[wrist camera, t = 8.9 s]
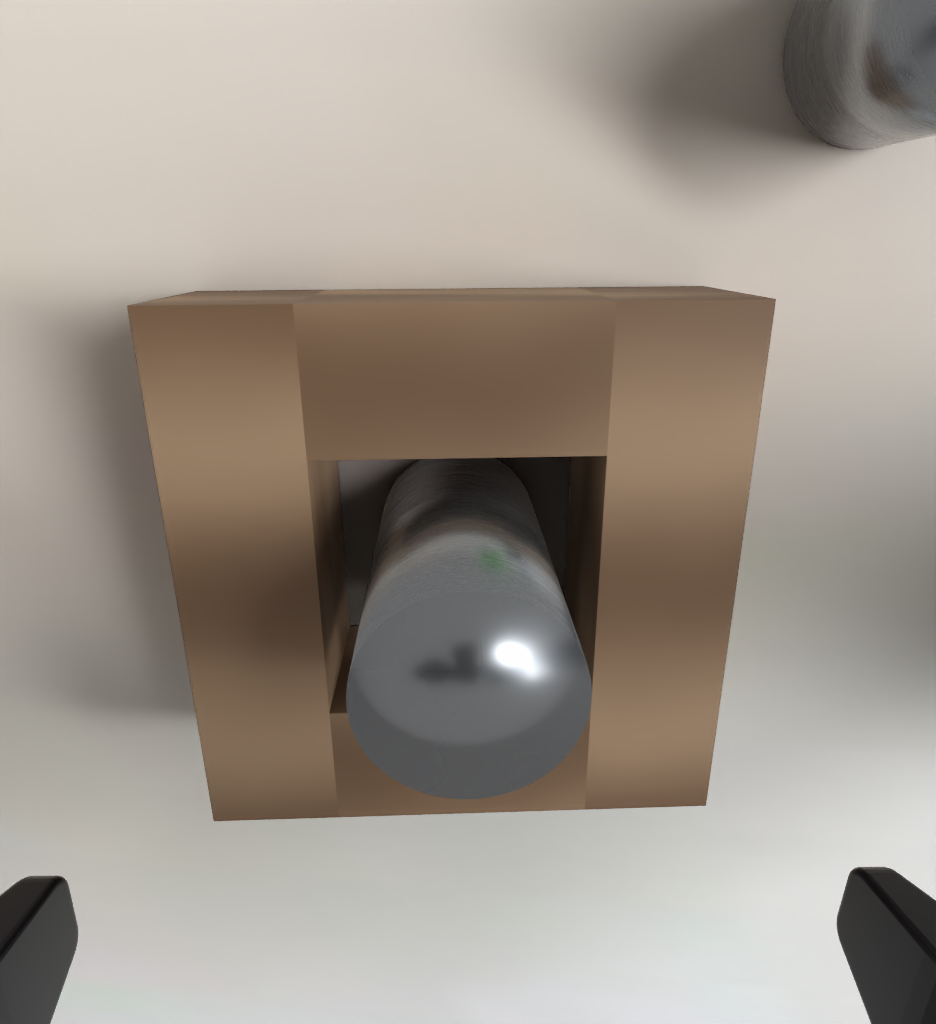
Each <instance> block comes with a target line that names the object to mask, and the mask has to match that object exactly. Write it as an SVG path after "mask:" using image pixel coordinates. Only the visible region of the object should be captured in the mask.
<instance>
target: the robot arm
mask: <svg viewBox="0 0 936 1024" xmlns="http://www.w3.org/2000/svg"><path fill="white" fill-rule="evenodd" d="M837 931H838V936H839V939H840V942H841V945H842V948H843V951H844V953H845V956H846V958H847V961H848V964H849V966H850V969H851V972H852V974H853V977H854V980H855V982H856V985H857V987H858V990H859V993H860V995H861V998H862V1001H863V1003H864V1006H865V1009H866V1011H867V1014H868V1016H869V1019H870V1022H871V1024H936V900H934V899H933V898H932V897H930V896H929V895H927V894H926V893H925V892H923V891H922V890H921V889H919V888H918V887H916V886H915V885H914V884H912V883H911V882H910V881H908V880H907V879H906V878H904V877H903V876H901V875H900V874H899V873H897V872H896V871H894V870H892V869H890V868H886V867H857V868H854V869H853V870H852V871H851V872H850V874H849V876H848V880H847V883H846V887H845V891H844V894H843V898H842V901H841V905H840V908H839V912H838V916H837ZM77 941H78V926H77V921H76V917H75V912H74V908H73V903H72V899H71V894H70V890H69V886H68V883H67V881H66V880H65V879H64V878H63V877H61V876H29V877H26V878H24V879H22V880H20V881H18V882H17V883H15V884H14V885H13V886H12V887H10V888H9V889H8V890H7V891H5V892H4V893H3V894H1V895H0V1024H50V1023H51V1020H52V1017H53V1014H54V1011H55V1009H56V1006H57V1003H58V1000H59V997H60V994H61V991H62V988H63V986H64V983H65V980H66V977H67V974H68V971H69V968H70V965H71V963H72V960H73V957H74V954H75V951H76V946H77Z"/></svg>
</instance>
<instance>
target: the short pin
mask: <svg viewBox="0 0 936 1024" xmlns="http://www.w3.org/2000/svg"><path fill="white" fill-rule="evenodd" d="M783 70H784V80H785V85H786V90H787V94H788V97H789V99H790V102H791V105H792V107H793V109H794V111H795V113H796V115H797V116H798V117H799V119H800V120H801V122H802V123H803V124H804V125H805V126H806V128H807V129H808V130H809V131H810V132H811V133H813V134H814V135H815V136H817V137H818V138H819V139H821V140H823V141H825V142H827V143H829V144H831V145H834V146H837V147H840V148H846V149H857V150H863V149H871V148H876V147H881V146H886V145H890V144H895V143H900V142H904V141H909V140H914V139H919V138H923V137H928V136H933V135H936V0H799V2H798V4H797V6H796V8H795V10H794V13H793V15H792V18H791V21H790V23H789V27H788V31H787V35H786V39H785V46H784V56H783Z"/></svg>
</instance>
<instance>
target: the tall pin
mask: <svg viewBox="0 0 936 1024" xmlns="http://www.w3.org/2000/svg"><path fill="white" fill-rule="evenodd" d="M591 699H592V687H591V678H590V673H589V669H588V665H587V662H586V659H585V657H584V654H583V651H582V648H581V645H580V642H579V639H578V636H577V633H576V630H575V628H574V625H573V622H572V619H571V616H570V613H569V610H568V607H567V604H566V602H565V599H564V596H563V593H562V590H561V587H560V584H559V581H558V578H557V575H556V573H555V570H554V567H553V564H552V561H551V558H550V555H549V552H548V549H547V546H546V544H545V541H544V538H543V535H542V532H541V529H540V526H539V523H538V520H537V517H536V515H535V512H534V509H533V506H532V503H531V500H530V497H529V495H528V492H527V490H526V488H525V486H524V485H523V483H522V481H521V480H520V479H519V477H518V476H517V475H516V474H515V473H514V472H513V471H512V470H511V469H510V468H509V467H508V466H507V465H505V464H504V463H503V462H501V461H499V460H498V459H496V458H449V459H420V460H418V461H416V462H415V463H413V464H412V465H411V466H409V467H408V468H407V469H406V470H405V471H404V472H403V473H402V474H401V475H400V476H399V477H398V478H397V480H396V481H395V482H394V484H393V486H392V488H391V489H390V491H389V494H388V496H387V498H386V502H385V506H384V510H383V515H382V520H381V525H380V529H379V534H378V539H377V544H376V548H375V553H374V558H373V563H372V567H371V572H370V577H369V582H368V586H367V591H366V596H365V601H364V605H363V610H362V615H361V620H360V624H359V629H358V634H357V639H356V643H355V648H354V653H353V658H352V662H351V667H350V672H349V677H348V681H347V690H346V707H347V714H348V718H349V723H350V726H351V728H352V731H353V734H354V736H355V738H356V740H357V741H358V743H359V745H360V747H361V748H362V750H363V751H364V752H365V754H366V755H367V756H368V758H369V759H370V760H371V761H372V762H373V763H374V764H375V765H376V766H377V767H378V768H379V769H380V770H382V771H383V772H384V773H386V774H387V775H388V776H390V777H391V778H393V779H394V780H396V781H398V782H399V783H401V784H403V785H405V786H407V787H410V788H412V789H414V790H416V791H419V792H423V793H426V794H429V795H433V796H438V797H443V798H452V799H480V798H489V797H494V796H498V795H503V794H506V793H509V792H512V791H515V790H518V789H521V788H523V787H525V786H527V785H529V784H531V783H533V782H535V781H537V780H538V779H540V778H542V777H543V776H545V775H546V774H548V773H549V772H550V771H551V770H553V769H554V768H555V767H556V766H558V765H559V764H560V763H561V762H562V761H563V760H564V759H565V758H566V757H567V755H568V754H569V753H570V752H571V750H572V749H573V748H574V746H575V745H576V743H577V742H578V740H579V738H580V736H581V735H582V733H583V730H584V728H585V726H586V723H587V721H588V717H589V712H590V708H591Z"/></svg>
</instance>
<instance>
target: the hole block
mask: <svg viewBox="0 0 936 1024" xmlns="http://www.w3.org/2000/svg"><path fill="white" fill-rule="evenodd" d="M775 301H776V299H772V298H766V297H761V296H755V295H749V294H744V293H738V292H733V291H727V290H721V289H716V288H710V287H704V286H681V287H578V288H474V289H370V290H267V291H195V292H190V293H186V294H181V295H176V296H171V297H167V298H162V299H157V300H152V301H148V302H143V303H138V304H133V305H129V306H127V307H128V313H129V319H130V325H131V331H132V337H133V343H134V349H135V355H136V361H137V367H138V373H139V379H140V385H141V391H142V396H143V402H144V408H145V414H146V420H147V426H148V432H149V438H150V444H151V450H152V456H153V462H154V468H155V474H156V480H157V486H158V492H159V498H160V504H161V510H162V515H163V521H164V527H165V533H166V539H167V545H168V551H169V557H170V563H171V569H172V575H173V581H174V587H175V593H176V599H177V605H178V611H179V617H180V623H181V628H182V634H183V640H184V646H185V652H186V658H187V664H188V670H189V676H190V682H191V688H192V694H193V700H194V706H195V712H196V718H197V724H198V730H199V736H200V742H201V747H202V753H203V759H204V765H205V771H206V777H207V783H208V789H209V795H210V801H211V807H212V813H213V819H214V821H232V820H263V819H295V818H327V817H358V816H390V815H422V814H454V813H485V812H517V811H549V810H580V809H612V808H644V807H675V806H706V800H707V793H708V786H709V778H710V771H711V764H712V757H713V749H714V742H715V735H716V728H717V720H718V713H719V706H720V699H721V692H722V684H723V677H724V670H725V663H726V655H727V648H728V641H729V634H730V626H731V619H732V612H733V605H734V598H735V590H736V583H737V576H738V569H739V561H740V554H741V547H742V540H743V533H744V525H745V518H746V511H747V504H748V496H749V489H750V482H751V475H752V467H753V460H754V453H755V446H756V439H757V431H758V424H759V417H760V410H761V402H762V395H763V388H764V381H765V373H766V366H767V359H768V352H769V345H770V337H771V330H772V323H773V316H774V308H775ZM569 456H571V468H570V490H569V512H568V534H567V557H566V579H565V602H566V604H567V607H568V610H569V613H570V616H571V619H572V622H573V625H574V628H575V630H576V633H577V636H578V639H579V642H580V645H581V648H582V651H583V654H584V657H585V659H586V662H587V665H588V669H589V673H590V678H591V687H592V699H591V708H590V712H589V717H588V721H587V723H586V726H585V728H584V730H583V733H582V735H581V736H580V738H579V740H578V742H577V743H576V745H575V746H574V748H573V749H572V750H571V752H570V753H569V754H568V755H567V757H566V758H565V759H564V760H563V761H562V762H561V763H560V764H559V765H558V766H556V767H555V768H554V769H553V770H551V771H550V772H549V773H548V774H546V775H545V776H543V777H542V778H540V779H538V780H537V781H535V782H533V783H531V784H529V785H527V786H525V787H523V788H521V789H518V790H515V791H512V792H509V793H506V794H503V795H498V796H494V797H489V798H480V799H452V798H443V797H438V796H433V795H429V794H426V793H423V792H419V791H416V790H414V789H412V788H410V787H407V786H405V785H403V784H401V783H399V782H398V781H396V780H394V779H393V778H391V777H390V776H388V775H387V774H386V773H384V772H383V771H382V770H380V769H379V768H378V767H377V766H376V765H375V764H374V763H373V762H372V761H371V760H370V759H369V758H368V756H367V755H366V754H365V752H364V751H363V750H362V748H361V747H360V745H359V743H358V741H357V740H356V738H355V736H354V734H353V731H352V728H351V726H350V723H349V718H348V714H347V707H346V690H347V681H348V677H349V672H350V667H351V662H352V658H353V653H354V648H355V643H356V639H357V634H358V629H359V626H350V617H349V603H348V590H347V576H346V563H345V549H344V536H343V522H342V508H341V495H340V481H339V468H338V460H389V459H449V458H509V457H569Z"/></svg>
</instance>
